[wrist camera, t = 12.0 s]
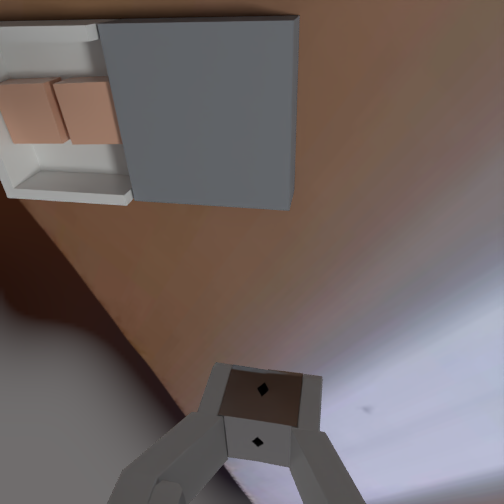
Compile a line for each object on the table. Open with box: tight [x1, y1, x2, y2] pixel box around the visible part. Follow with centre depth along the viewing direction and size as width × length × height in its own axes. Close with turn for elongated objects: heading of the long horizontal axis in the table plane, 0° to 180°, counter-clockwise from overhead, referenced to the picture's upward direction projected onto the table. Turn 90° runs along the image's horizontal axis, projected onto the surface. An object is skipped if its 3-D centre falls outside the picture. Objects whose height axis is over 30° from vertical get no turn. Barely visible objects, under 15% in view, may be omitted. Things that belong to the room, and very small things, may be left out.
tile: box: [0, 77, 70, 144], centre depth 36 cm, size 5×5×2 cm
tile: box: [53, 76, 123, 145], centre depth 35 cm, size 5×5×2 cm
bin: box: [0, 19, 134, 206], centre depth 35 cm, size 14×12×5 cm
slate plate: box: [97, 15, 300, 211], centre depth 33 cm, size 14×14×4 cm
